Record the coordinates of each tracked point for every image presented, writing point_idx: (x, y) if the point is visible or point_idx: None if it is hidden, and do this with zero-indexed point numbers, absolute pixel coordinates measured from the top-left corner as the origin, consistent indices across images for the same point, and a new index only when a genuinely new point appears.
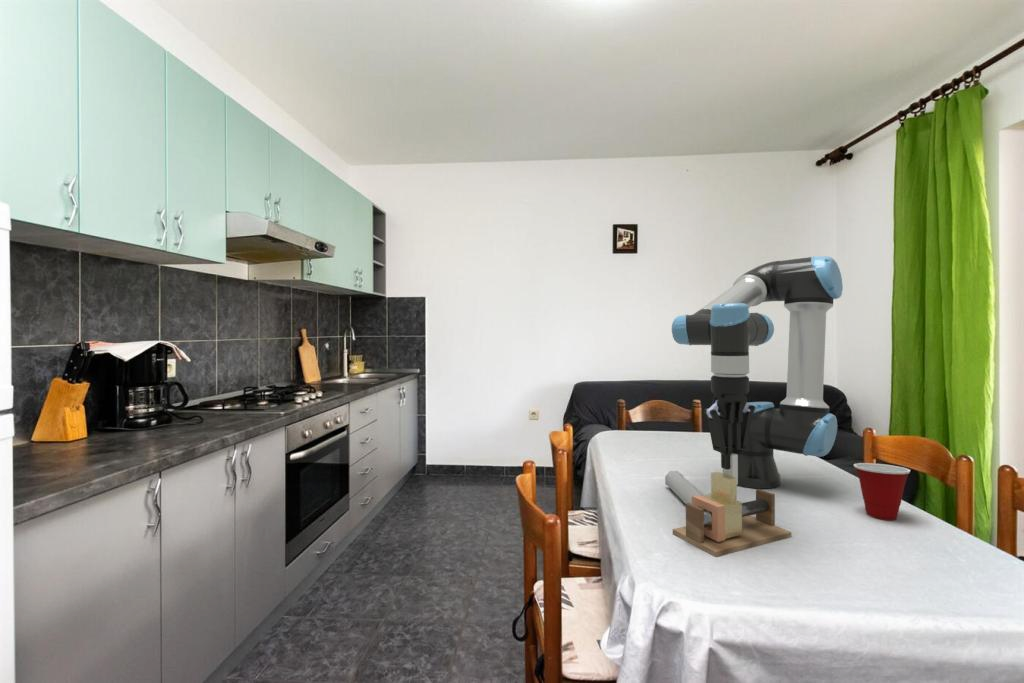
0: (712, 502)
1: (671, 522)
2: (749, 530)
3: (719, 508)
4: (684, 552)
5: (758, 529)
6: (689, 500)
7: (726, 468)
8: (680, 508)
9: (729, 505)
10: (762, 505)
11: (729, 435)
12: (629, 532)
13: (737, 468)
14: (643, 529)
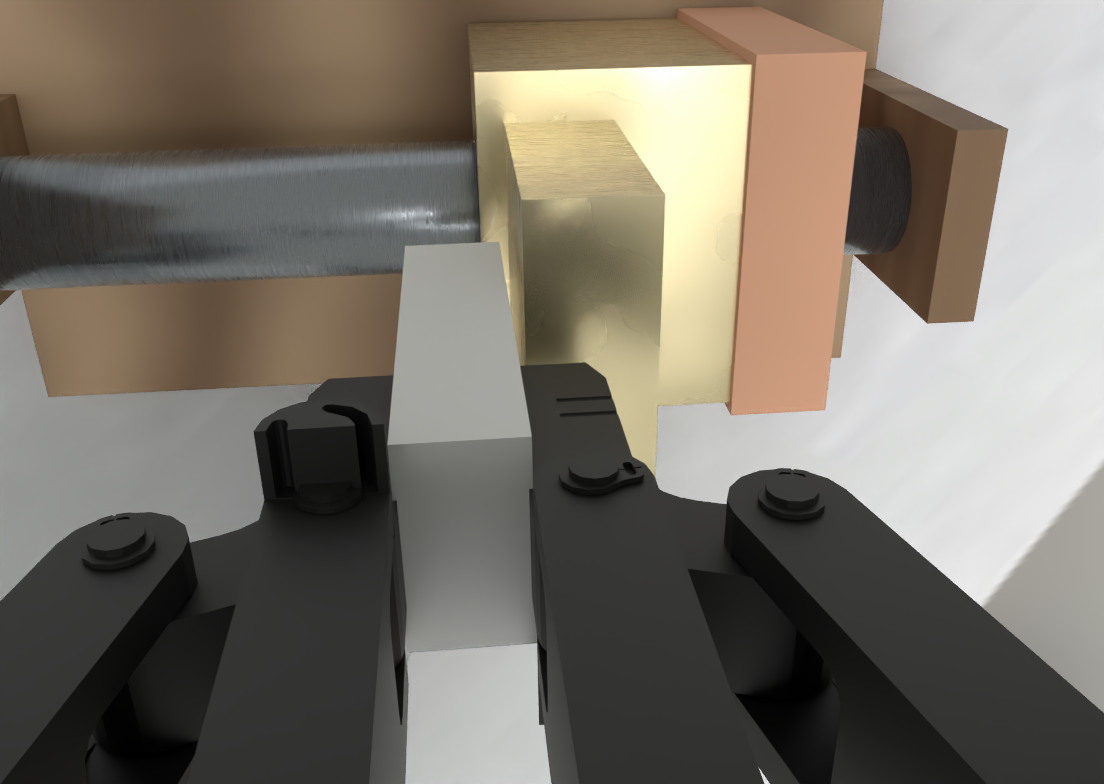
0: (795, 188)
1: (681, 494)
2: (290, 102)
3: (837, 49)
4: (1010, 61)
5: (197, 84)
6: (408, 655)
7: (596, 372)
8: (430, 660)
9: (673, 66)
10: (38, 171)
11: (697, 749)
12: (1060, 462)
13: (402, 331)
14: (944, 468)
